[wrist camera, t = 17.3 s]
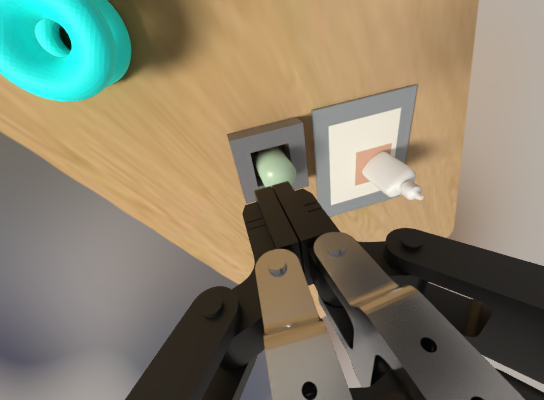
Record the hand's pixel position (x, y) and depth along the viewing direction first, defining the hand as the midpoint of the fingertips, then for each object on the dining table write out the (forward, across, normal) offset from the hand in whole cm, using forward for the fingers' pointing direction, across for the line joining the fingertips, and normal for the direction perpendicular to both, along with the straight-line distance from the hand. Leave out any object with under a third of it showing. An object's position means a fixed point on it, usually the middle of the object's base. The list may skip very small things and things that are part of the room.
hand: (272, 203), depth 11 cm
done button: (+28, -5, +12) cm, 31 cm away
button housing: (+29, -5, +12) cm, 32 cm away
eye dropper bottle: (+28, -24, +19) cm, 41 cm away
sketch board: (+29, -22, +17) cm, 40 cm away
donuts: (+29, +13, -8) cm, 33 cm away
